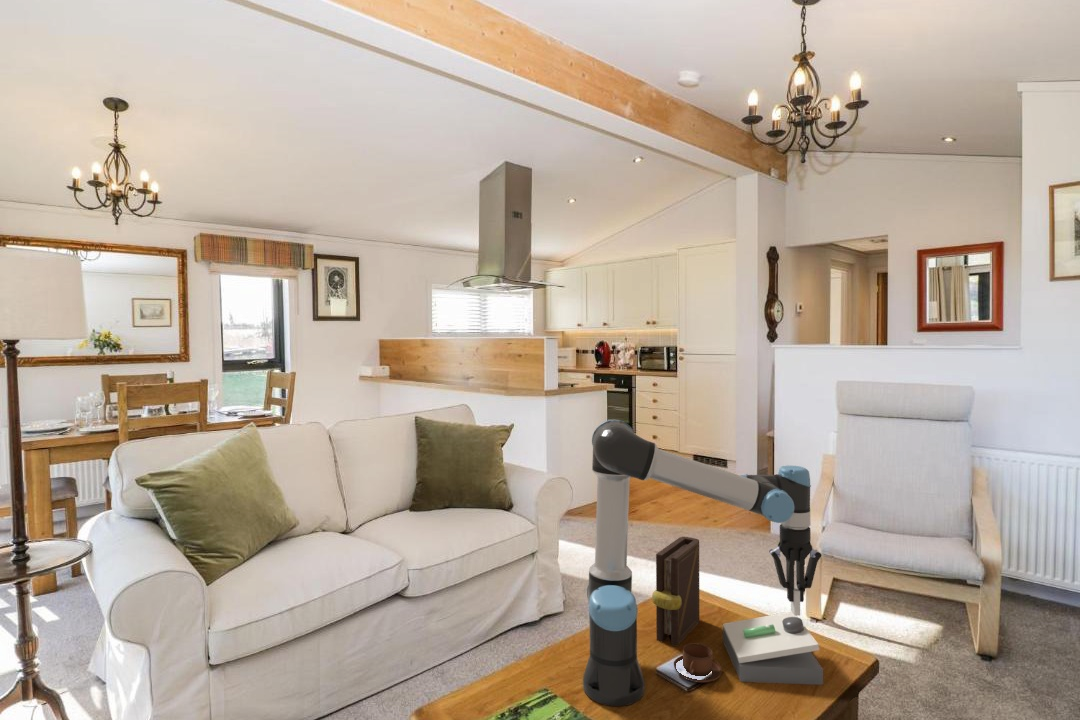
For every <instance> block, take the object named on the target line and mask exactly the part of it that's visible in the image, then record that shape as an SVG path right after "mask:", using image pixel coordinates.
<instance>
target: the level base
mask: <svg viewBox="0 0 1080 720" xmlns="http://www.w3.org/2000/svg"><path fill="white" fill-rule="evenodd" d="M722 643H723V645H724V647H725V648H726V652H727V653H728V656H729V659H730V660H731V663H732V665H733V668H734V670H735V672H736V674H737V677H738V679H739V682H742V683H762V684H763V683H768V684H769V683H770V684H787V685H788V684H789V685H790V684H791V685H792V684H793V685H815V686H816V685H817V686H818V685H819V686H822V685H823V686H824V669H823V668H824V667H822V666H821V665H820V663H819V661H818V660H817V658H816V657H815V655H814V654H813V653H812V651H811V652H805V653H799V654H793V655H787V656H781V657H775V658H769V659H763V660H757V661H751V662H745V663H739V661H738V659H737V657H736V655H735V653H734V650H733V648H732V646H731V644H730V642H729V639H728V637H727V635H726V633H725V631H724V628H723V627H722Z"/></svg>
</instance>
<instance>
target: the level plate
mask: <svg viewBox="0 0 1080 720" xmlns="http://www.w3.org/2000/svg"><path fill="white" fill-rule="evenodd" d="M723 628H724V631H725V633H726V635H727V637H728V639H729V642H730V644H731V646H732V648H733V650H734V653H735V655H736V657H737V659H738V661H739V663H745V662H751V661H757V660H763V659H769V658H775V657H781V656H787V655H793V654H799V653H805V652H811V653H812V652H816V651H820V645H819V643H818V642H817V640H816V639H815V638H814V636H813V635H812V634H811V632H810V631H809V630H808V628H807V627H806V626H805V624H804V622H803V619H802V618H800V617H799V616H798V615H794V614H793V613H792V611H787V612H784V613H783V612H782V613H777V614H772V615H771V614H770V615H765V616H759V617H754V618H748V619H743V620H736V621H730V622H725V623H722V629H723Z"/></svg>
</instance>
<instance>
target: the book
mask: <svg viewBox="0 0 1080 720" xmlns="http://www.w3.org/2000/svg"><path fill="white" fill-rule="evenodd" d="M655 572H656V573H655V575H656V576H655V580H656V581H655V588H656V589H655V590H654V591H652V595H651V596H652V597H651V600H652V603H653V604H654V605H655V607H656V608H655V609H656V610H655V611H656V613H655V616H656V617H655V618H656V628H655V629H656V631H655V632H656V641H658V642H660V643H661V642H664V640H666V638H667V637H669V635H670V637H671V638H670V639H671V646H674V647H678V646H679V645H680V644H681V643H682V642H683V641H684V640H685V638H686V637H688V635H689V634H690V633H691V632H692V631H693V630H694V629H695V628H696V627H697V625H698V624H699V623H700V539H698V538H695V537H689V536H680V537H678V538H676V539H675V540H674V541H672V542H670V543H669V544H668V545H666V547H664V548H662V549H661V550H659V551H658V552H657V553H656V554H655Z"/></svg>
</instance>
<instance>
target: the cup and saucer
mask: <svg viewBox="0 0 1080 720" xmlns="http://www.w3.org/2000/svg"><path fill="white" fill-rule="evenodd" d="M682 659H683V666H684V668H685V669H686V671H687V672H689V673H690V674H691V675H695V676H706V675H708V674H709V673H710V672H711V671H712V676H711V677H709V678H708V679H706V680H697V679H692V678H689V677H686V676H684V675H682V674H681V673H679V672H678V671H677V669H676V663H677V662H678V661H680V660H682ZM673 668H674V670H675V671H676V672H678V673H679V674H680V677H682V676H683V677H682V678H684V677H685V678H687V679H686V680H688V679H689V680H688V681H690V680H692V681H691V682H694V681H697V682H696V683H701V684H702V683H704V684H705V683H711V682H714V681H716V680H717V679H719V678H720V677H721V675H722V672H723V671H722V669H723V668H722V666H721V665H720V664H719V663H718V662H717V661H716V660H715V659H713V650H712V649H711V648H710V647H709V646H707V645H705V644H701V643H695V642H694V643H693V642H692V643H691V642H690V643H687V644H685V645H684V646H683V648H682V655H680V656H679V657H677V658H676V659H674V661H673ZM678 673H677V674H678ZM679 674H678V675H679ZM685 678H684V679H685Z"/></svg>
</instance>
